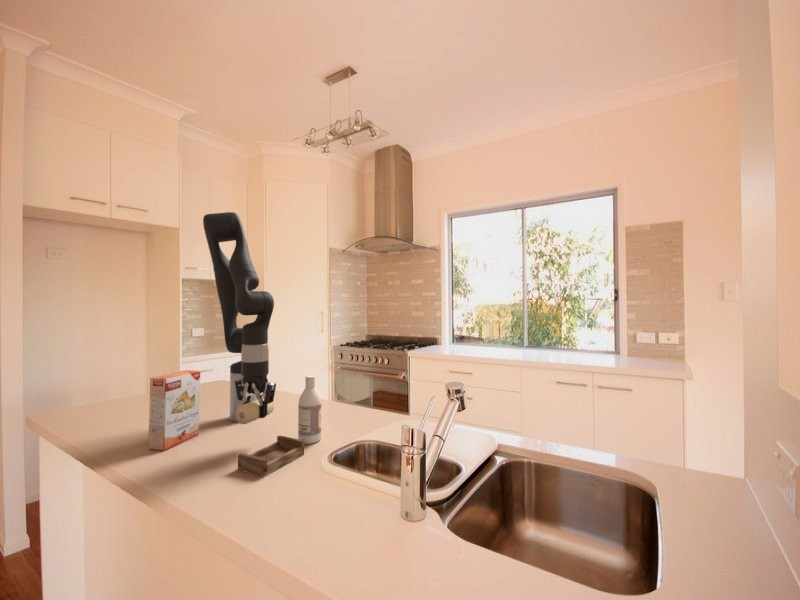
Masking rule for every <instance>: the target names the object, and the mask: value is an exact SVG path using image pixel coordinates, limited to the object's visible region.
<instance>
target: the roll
mask: <svg viewBox="0 0 800 600" xmlns="http://www.w3.org/2000/svg"><path fill="white" fill-rule="evenodd" d="M262 399H263V397H262ZM263 401H264V400H263ZM259 406H260V404H259V401H258V400H255V401H253V402H250V403H247V404H244V405H241V406H239V407H237V409H236V411H235V417H236V419H237V421H238V422H237V423H239V424H241V425H247V424H249V423H251V422H254V421H256V420H260V418H259ZM274 409H275V402H274V401H273V402H271V403H269V404H268V405H267V415H266V416H268V415H270V414H272V413H273V412H274Z"/></svg>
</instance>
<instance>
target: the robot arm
mask: <svg viewBox="0 0 800 600" xmlns="http://www.w3.org/2000/svg"><path fill="white" fill-rule="evenodd" d="M202 224H203V230H204V234H205V238H206V241H207V245H208V250H209V253H210V257H211V261H212V267H213V273H214V278H215V279H214V280H215V286H216V291H217V296H218V300H219V304H220V309H221V315H222V322H223V335H224V341H225V346H226V350H227V351H228V352H229V353H230V354H231V353H232V354H240V355H241V356H240V357H241V358H240V359H241V360H239V361H236V362H233V363H232V364H231V365H230V371H229V372H230V373H229V420H230V421H231V422H237V423H239V422H238V421H237V419H236V417H235V411H236V409H237V407H239V406H241V405H244V404H247V403H250V402H253V401H255V400H258V401H259V404H260V406H259V419H265V418H266V417H267V416H268V415H267V405H268V404H269V403H271V402H273V403H274V400H275V399H274V398H275V393H276V388H277V387H276V386H277V384H276V382H269V380H268V375H269V371H270V368H269V367H270V366H269V364H270V363H269V362H270V361H269V360H270V359H269V356H270V355H269V343H268V342H269V341H268V339H269V332H268V330H269V326H270V323H271V319H272V315H273V311H274V308H275V300H274V298H273V295H272V294H271V293H270V292H269V291H265V290H261V291H260V290H258V291H257V290H256V289H257V288H258V287H259V285H260V280H259V279H260V278H259V277H258V274H257V272H256V269H255V266H254V264H253V261H252V260H251V255H250V252H249V246H248V242H247V239H246V234H245V230H244V227H243V223H242V221H241V219H240V216H239V215H238V214H237V213H236V212H235V211H234V212H232V211H230V212H229V211H227V212H216V213H207V214H204V216H203V219H202ZM232 241H234V242H235V247H234V250H233V252H232V254H231V256H230V259H229V258H227V255H225V253H224V252H223V251H222V249H221V246H220V243H225V242H232ZM239 314H240V315H242V316H256V318H255V320H254V321H252V322H250V323H246V324H244V325H243V326H242V327H238V325H237V324H238V323H237V317H238V315H239ZM262 398H263V399H262ZM263 400H264V401H263Z"/></svg>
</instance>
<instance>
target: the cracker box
mask: <svg viewBox="0 0 800 600" xmlns="http://www.w3.org/2000/svg"><path fill="white" fill-rule="evenodd" d="M149 380H150V381H149V413H148V414H149V415H148V416H149V417H148V449H149V450H154V451H164V452H165V451H166V450H168V449H171V448H173V447H174V446H177V445H179V444H181V442H182V443H184V442H185V441H188V440H190V439H192V438H195V437H197V436H199V435H198V434H199V433H200V403H201V402H200V400H201V398H200V397H201V396H200V395H201V370H191V369H190V370H189V369H188V370H187V369H185V370H180V371H177V372H172V373H167V374H164V375H158V376H155V377H150V379H149ZM196 435H197V436H196ZM194 436H195V437H194Z"/></svg>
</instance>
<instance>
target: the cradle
mask: <svg viewBox="0 0 800 600" xmlns="http://www.w3.org/2000/svg"><path fill="white" fill-rule="evenodd" d="M304 455H305V444H304V440H299V439H298V438H294V437H290V436H284V435H280V434H279V435H277V437H276V442H273V443H272V444H269V445H268V446H265V447H262V448H261V449H259V450H257V451H254V452H253V453H250V454H247V453H245V452H244V453H243V452H240V453H238V454H237V471H240V470H242V471H241V472H244V471H246V472H245V473H248V472H249V474H251V473H253V474H252V475H255V474H257V475H256V476H259V475H260V476H259V477H262V476H265V477H267V476H268V474H269V475H270V473H271V474H272V473H273V472H276V471H278V470H279V469H281V468H283V467H285V466H286V465H288V464H290V463H292V462H293V461H295V460H297V459H299V458H300V457H302V456H304ZM277 469H278V470H277ZM266 475H267V476H266Z"/></svg>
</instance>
